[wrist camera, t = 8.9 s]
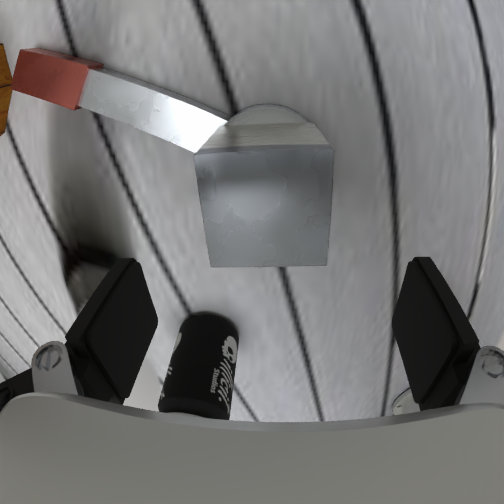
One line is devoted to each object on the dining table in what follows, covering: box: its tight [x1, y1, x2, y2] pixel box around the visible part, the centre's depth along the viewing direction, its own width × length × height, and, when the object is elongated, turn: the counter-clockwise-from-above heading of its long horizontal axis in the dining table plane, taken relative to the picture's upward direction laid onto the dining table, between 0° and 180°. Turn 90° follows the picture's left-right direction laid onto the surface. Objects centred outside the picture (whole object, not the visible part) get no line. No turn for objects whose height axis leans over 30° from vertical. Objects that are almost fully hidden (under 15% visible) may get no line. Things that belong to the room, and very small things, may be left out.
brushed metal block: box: [194, 123, 334, 267], centre depth 17 cm, size 6×6×7 cm
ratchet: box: [11, 48, 309, 153], centre depth 17 cm, size 27×8×6 cm, turn 63°
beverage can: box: [158, 315, 239, 420], centre depth 28 cm, size 7×7×12 cm
